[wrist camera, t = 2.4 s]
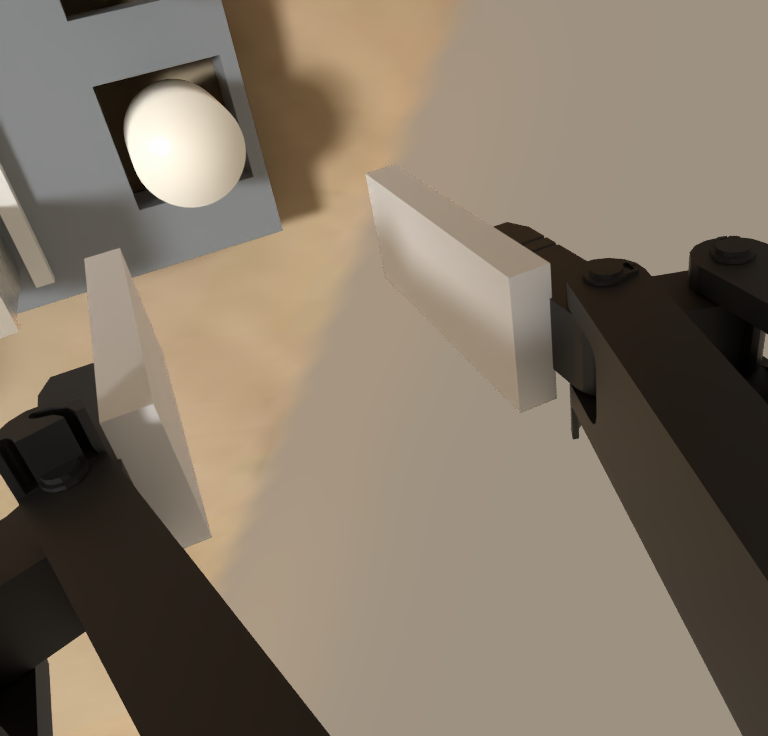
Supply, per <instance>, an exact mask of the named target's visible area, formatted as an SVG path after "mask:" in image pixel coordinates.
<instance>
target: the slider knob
mask: <svg viewBox="0 0 768 736" xmlns="http://www.w3.org/2000/svg"><path fill="white" fill-rule="evenodd" d="M20 279H21V274H20V272H19V270H18V268H17V266H16V264H15V262H14V261H13V259H12V257H11V255H10V253H9V251H8V249H7V247H6V245H5V243H4V241H3V239H2V237H1V235H0V338H3V337H6V336H9V335H12V334H16V333H19V332H20V323H19V321H18V320H17V308H18V298H19V289H20Z"/></svg>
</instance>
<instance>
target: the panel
mask: <svg viewBox="0 0 768 736" xmlns="http://www.w3.org/2000/svg"><path fill="white" fill-rule="evenodd" d="M209 57H211V58H212V62H213V65H214V69H215V72H216V76H217V79H218V83H219V86H220V90H221V93H222V97H223V100H224V104H225V107H226V109H227V110H228V111H229V112H230V114H231V115H232V116H233V117H234V119H235V120H236V122H237V123H238V125H239V127H240V129H241V131H242V134H243V137H244V141H245V148H246V158H245V165H244V169H243V172H242V174H241V176H240V179H239V180H238V182H237V184H236V185H235V186H234V188H233V189H232V190H231V191H230V192H229V193H228V194H227V195H226V196H224V197H223V198H221V199H220V200H218V201H216V202H214V203H212V204H209V205H206V206H202V207H194V208H189V207H180V206H175V205H172V204H169V203H167V202H165V201H163V200H161V199H159V198H158V197H156V196H155V195H154V194H152V193H151V192H150V191H149V190H144V191H141V192H137V193H134V192H133V190H132V187H131V185H130V182H129V179H128V177H127V174H126V171H125V169H124V166H123V163H122V161H121V158H120V156H119V153H118V150H117V148H116V145H115V142H114V140H113V137H112V134H111V132H110V129H109V127H108V124H107V121H106V119H105V116H104V113H103V111H102V108H101V105H100V103H99V100H98V98H97V95H96V92H95V90H94V86H98V85H102V84H106V83H110V82H114V81H118V80H122V79H126V78H130V77H134V76H138V75H142V74H146V73H150V72H154V71H158V70H162V69H166V68H170V67H173V66H177V65H181V64H185V63H189V62H193V61H197V60H201V59H205V58H209ZM282 230H283V229H282V225H281V222H280V218H279V214H278V210H277V207H276V203H275V199H274V195H273V192H272V188H271V184H270V180H269V177H268V173H267V169H266V166H265V162H264V158H263V154H262V151H261V147H260V143H259V139H258V136H257V132H256V128H255V124H254V121H253V117H252V113H251V109H250V106H249V102H248V98H247V95H246V91H245V87H244V83H243V80H242V76H241V72H240V68H239V65H238V61H237V57H236V53H235V50H234V46H233V42H232V38H231V35H230V31H229V27H228V24H227V20H226V16H225V12H224V9H223V5H222V1H221V0H135V1H130V2H126V3H122V4H117V5H113V6H109V7H104V8H100V9H95V10H91V11H87V12H82V13H78V14H74V15H69V16H66V13H65V11H64V8H63V5H62V3H61V0H0V235H1V237H2V239H3V241H4V243H5V245H6V247H7V249H8V251H9V253H10V255H11V257H12V259H13V261H14V262H15V264H16V266H17V268H18V270H19V272H20V274H21V279H20V289H19V298H18V308H17V314H18V313H21V312H24V311H27V310H30V309H34V308H37V307H40V306H43V305H46V304H49V303H53V302H56V301H59V300H62V299H65V298H69V297H72V296H75V295H78V294H81V293H85V292H87V284H86V273H85V262H84V259H85V258H88V257H91V256H95V255H98V254H101V253H105V252H108V251H111V250H114V249H118V248H120V249H121V252H122V254H123V257H124V259H125V262H126V264H127V267H128V269H129V271H130V274H131V276H132V277H136V276H139V275H142V274H145V273H148V272H152V271H155V270H158V269H161V268H164V267H168V266H171V265H174V264H177V263H180V262H184V261H187V260H190V259H193V258H196V257H199V256H203V255H206V254H209V253H212V252H215V251H219V250H222V249H225V248H228V247H231V246H235V245H238V244H241V243H244V242H247V241H251V240H254V239H257V238H260V237H263V236H266V235H270V234H273V233H276V232H279V231H282Z"/></svg>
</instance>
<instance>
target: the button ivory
mask: <svg viewBox="0 0 768 736" xmlns="http://www.w3.org/2000/svg"><path fill="white" fill-rule="evenodd" d="M123 131H124V139H125V143H126V146H127V149H128V152H129V155H130V158H131V160H132V163H133V166H134V169H135V171H136V173H137V175H138V177H139V179H140V180H141V182H142V183H143V184H144V186H145V187H146V188H147V189H148V190H149V191H150V192H151V193H152V194H154V195H155V196H156V197H158V198H159V199H161V200H163V201H165V202H167V203H169V204H172V205H175V206H180V207H189V208H194V207H202V206H206V205H209V204H212V203H214V202H216V201H218V200H220V199H221V198H223V197H224V196H226V195H227V194H228V193H229V192H230V191H231V190H232V189H233V188H234V186H235V185H236V184H237V182H238V180H239V179H240V176H241V174H242V172H243V169H244V165H245V158H246V148H245V141H244V137H243V134H242V131H241V129H240V127H239V125H238V123H237V122H236V120H235V119H234V117H233V116H232V115H231V114H230V112H229V111H228V110H227V109H226V108H225V107H223V106H222V105H221V104H220V103H219V102H218V101H217V100H216V99H215V98H214V97H213V96H212V95H211V94H210V93H208V92H207V91H206V90H205V89H203V88H202V87H200V86H198V85H196V84H194V83H191V82H189V81H185V80H179V79H166V80H160V81H157V82H154V83H152V84H150V85H148V86H146V87H145V88H143V89H142V90H141V91H140V92H139V93H137V94H136V96H135V97H134V98H133V99H132V101H131V102H130V104H129V106H128V108H127V111H126V114H125V118H124V125H123Z"/></svg>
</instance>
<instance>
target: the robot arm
mask: <svg viewBox="0 0 768 736" xmlns="http://www.w3.org/2000/svg"><path fill="white" fill-rule="evenodd" d="M365 174H366V180H367V185H368V190H369V195H370V201H371V206H372V211H373V216H374V222H375V227H376V232H377V237H378V243H379V248H380V253H381V258H382V264H383V269H384V274H385V278H386V279H387V280H388V281H389V282H390V283H391V284H392V285H393V286H394V287H395V288H396V289H397V290H398V291H399V292H400V293H401V294H402V295H403V296H404V297H405V298H406V299H407V300H408V301H409V302H410V303H411V304H412V305H413V306H414V307H415V308H416V309H417V310H418V311H419V312H420V313H421V314H422V315H423V316H424V317H425V318H426V319H427V320H428V321H429V322H430V323H431V324H432V325H433V326H434V327H435V328H436V329H437V330H438V331H439V332H440V333H441V334H442V335H443V336H444V337H445V338H446V339H447V340H448V341H449V342H450V343H451V344H452V345H453V346H454V347H455V348H456V349H457V350H458V351H459V352H460V353H461V354H462V355H463V356H464V357H465V358H466V359H467V360H468V361H469V362H470V363H471V364H472V365H473V366H474V367H475V368H476V369H477V370H478V371H479V372H480V373H481V374H482V375H483V376H484V377H485V378H486V379H487V380H488V381H489V382H490V383H491V384H492V385H493V386H494V387H495V388H496V389H497V390H498V391H499V392H500V393H501V394H502V395H503V396H504V397H505V398H506V399H507V400H508V401H509V402H510V403H511V404H512V405H513V406H514V407H515V408H516V409H517V410H518V411H519V412H520V413H521V412H524V411H527V410H529V409H532V408H534V407H537V406H539V405H541V404H544V403H546V402H549V401H551V400H554V399H556V398H557V394H556V373H555V371H557V372H558V373H559V374H560V375H561V376H562V377H564V378H565V379H566V380H567V381H568V382H569V383H570V402H571V403H570V404H571V430H572V437H573V439H577V438H579V428H580V426H581V425H582V427H583V429H584V431H585V433H586V435H587V436H588V439H589V440H590V442H591V444H592V446H593V448H594V450H595V452H596V454H597V455H598V458H599V460H600V462H601V464H602V465H603V467H604V469H605V471H606V473H607V475H608V477H609V479H610V481H611V483H612V485H613V487H614V489H615V491H616V493H617V494H618V496H619V498H620V500H621V502H622V504H623V506H624V508H625V510H626V512H627V514H628V516H629V518H630V520H631V521H632V523H633V525H634V527H635V529H636V531H637V533H638V535H639V537H640V539H641V541H642V543H643V544H644V546H645V548H646V550H647V552H648V554H649V556H650V558H651V560H652V562H653V564H654V566H655V568H656V570H657V572H658V574H659V575H660V577H661V579H662V581H663V583H664V585H665V587H666V589H667V591H668V593H669V595H670V596H671V599H672V600H673V602H674V604H675V606H676V608H677V610H678V612H679V614H680V616H681V618H682V620H683V622H684V624H685V626H686V627H687V629H688V631H689V633H690V635H691V637H692V639H693V641H694V643H695V645H696V647H697V649H698V650H699V653H700V655H701V656H702V658H703V660H704V662H705V664H706V666H707V668H708V670H709V672H710V674H711V676H712V678H713V680H714V682H715V683H716V685H717V687H718V689H719V691H720V693H721V695H722V697H723V699H724V701H725V703H726V705H727V707H728V708H729V710H730V712H731V714H732V716H733V718H734V720H735V722H736V724H737V726H738V728H739V730H740V732H741V734H742V735H743V736H768V359H767V358H765V357H764V356H762V355H763V348H764V341H765V334H766V333H767V334H768V244H766V243H764V242H760V241H757V240H754V239H749V238H741V237H739V236H729V237H727V236H723V237H718V238H716V239H711V240H707V241H704V242H702V243H700V244H698V245H696V246H695V247H694V248H693V249H692V250H691V252H690V257H689V270H688V271H682V272H676V273H670V274H664V275H658V276H651V275H650V274H649V273H648V272H647V271H646V269H645V268H643V267H641V266H640V265H639V264H637V263H635V262H632V261H628V260H625V259H614V258H604V259H595V260H590V261H586V260H584V259H582V258H581V257H579V256H577V255H576V254H574V253H572V252H571V251H569V250H567V249H565V248H564V247H562V246H560V245H556V243H555V242H554V241H552V240H550V239H548V238H544V236H543V235H542V234H540V233H538V232H537V231H535V230H533V229H531V228H530V227H527V226H522V225H518V224H513V223H509V222H506V223H503V224H500V225H497V226H494V227H493V226H491V225H489V224H488V223H486V222H485V221H483V220H482V219H480V218H479V217H477V216H475V215H474V214H472V213H471V212H469V211H467V210H466V209H464V208H463V207H461V206H460V205H458V204H456V203H455V202H453V201H452V200H450V199H449V198H447V197H446V196H444V195H442V194H441V193H439V192H438V191H436V190H435V189H433V188H432V187H430V186H428V185H427V184H425V183H424V182H422V181H420V180H419V179H417V178H416V177H414V176H413V175H411V174H409V173H408V172H406V171H405V170H403V169H402V168H400V167H399V166H397V165H391V166H388V167H385V168H382V169H378V170H375V171H372V172H368V173H365ZM84 262H85V273H86V284H87V294H88V305H89V316H90V327H91V337H92V348H93V359H94V363H92V364H89V365H86V366H83V367H80V368H77V369H74V370H71V371H68V372H65V373H62V374H59V375H56V376H53V377H50V379H49V380H48V382H47V383H46V385H45V386H44V388H43V389H42V391H41V392H40V394H39V395H38V407H36V408H33V409H30V410H28V411H25V412H24V413H22V414H20V415H19V416H17V417H15V418H14V419H12V420H10V421H9V422H8V423H6V424H5V425H4V426H3V427H2V428H1V429H0V474H1V476H2V477H3V479H4V480H5V482H6V484H7V485H8V487H9V488H10V490H11V492H12V493H13V495H14V496H15V498H16V500H17V501H18V503H19V506H18V507H17V508H16V509H15V510H14V511H12V512H11V513H10V514H9V515H8V516H7V517H5V518H4V519H2V520H1V521H0V736H53V730H52V712H51V694H50V676H49V663H48V660H47V658H48V657H50V656H51V655H53V654H54V653H55V652H57V651H58V650H60V649H61V648H63V647H64V646H65V645H67V644H68V643H70V642H71V641H73V640H74V639H75V638H77V637H78V636H80V635H81V634H83V633H84V632H85V631H86V633H87V635H88V637H89V639H90V641H91V642H92V644H93V646H94V648H95V650H96V652H97V654H98V656H99V658H100V660H101V662H102V663H103V665H104V667H105V669H106V671H107V673H108V675H109V677H110V679H111V681H112V683H113V684H114V686H115V688H116V690H117V692H118V694H119V696H120V698H121V700H122V702H123V704H124V705H125V707H126V709H127V711H128V713H129V715H130V717H131V719H132V721H133V723H134V725H135V726H136V728H137V730H138V732H139V734H140V736H330V735H329V733H328V732H327V731H326V730H325V729H324V727H323V726H322V725H321V723H320V722H319V721H318V720H317V718H316V717H315V716H314V714H313V713H312V712H311V711H310V709H309V708H308V707H307V706H306V704H305V703H304V702H303V700H302V699H301V698H300V697H299V695H298V694H297V693H296V691H295V690H294V689H293V688H292V686H291V685H290V684H289V683H288V681H287V680H286V679H285V678H284V676H283V675H282V674H281V672H280V671H279V670H278V669H277V667H276V666H275V665H274V663H273V662H272V661H271V660H270V658H269V657H268V656H267V655H266V653H265V652H264V651H263V649H262V648H261V647H260V646H259V644H258V643H257V642H256V641H255V639H254V638H253V637H252V635H251V634H250V633H249V632H248V630H247V629H246V628H245V627H244V626H243V624H242V623H241V621H240V620H239V619H238V618H237V616H236V615H235V614H234V613H233V611H232V610H231V609H230V607H229V606H228V605H227V604H226V603H225V601H224V600H223V599H222V597H221V596H220V595H219V593H218V592H217V591H216V590H215V588H214V587H213V586H212V585H211V583H210V582H209V581H208V579H207V578H206V577H205V576H204V574H203V573H202V572H201V571H200V569H199V568H198V567H197V565H196V564H195V563H194V562H193V560H192V559H191V558H190V556H189V555H188V554H187V553H186V551H185V550H184V548H186V547H189V546H191V545H194V544H196V543H199V542H201V541H204V540H206V539H209V538H211V537H212V536H211V532H210V529H209V525H208V521H207V517H206V514H205V510H204V506H203V502H202V499H201V495H200V491H199V487H198V483H197V480H196V476H195V472H194V468H193V465H192V461H191V457H190V453H189V450H188V446H187V442H186V438H185V434H184V431H183V427H182V423H181V419H180V416H179V412H178V408H177V404H176V401H175V397H174V393H173V389H172V385H171V382H170V378H169V374H168V370H167V367H166V363H165V359H164V355H163V352H162V350H161V347H160V345H159V342H158V340H157V338H156V335H155V333H154V330H153V328H152V325H151V323H150V320H149V318H148V316H147V313H146V311H145V308H144V306H143V303H142V301H141V298H140V296H139V293H138V291H137V289H136V286H135V284H134V281H133V279H132V276H131V274H130V271H129V269H128V267H127V264H126V262H125V259H124V257H123V254H122V252H121V249H120V248H118V249H114V250H111V251H108V252H105V253H101V254H98V255H95V256H91V257H88V258H85V259H84Z"/></svg>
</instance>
